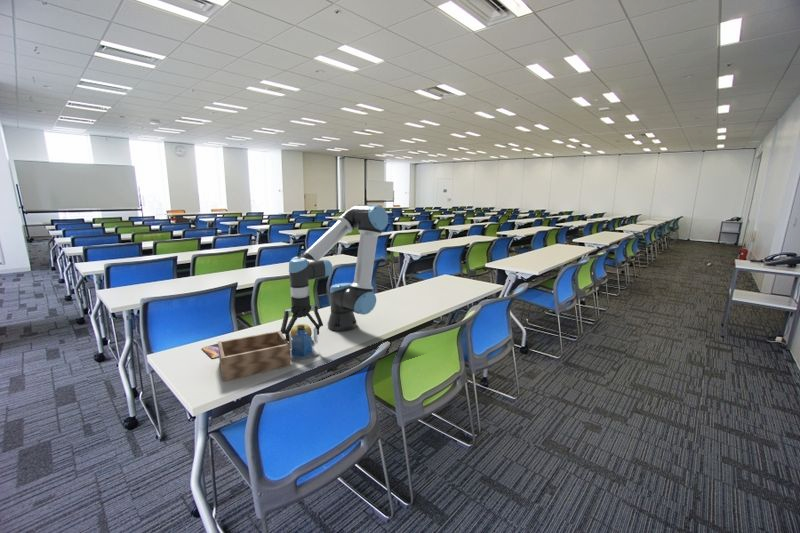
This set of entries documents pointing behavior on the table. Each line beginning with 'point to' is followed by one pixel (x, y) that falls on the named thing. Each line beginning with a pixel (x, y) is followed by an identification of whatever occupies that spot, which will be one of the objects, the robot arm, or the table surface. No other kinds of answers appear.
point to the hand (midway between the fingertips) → (303, 344)
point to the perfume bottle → (301, 342)
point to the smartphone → (211, 351)
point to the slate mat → (297, 358)
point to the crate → (253, 354)
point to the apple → (294, 332)
